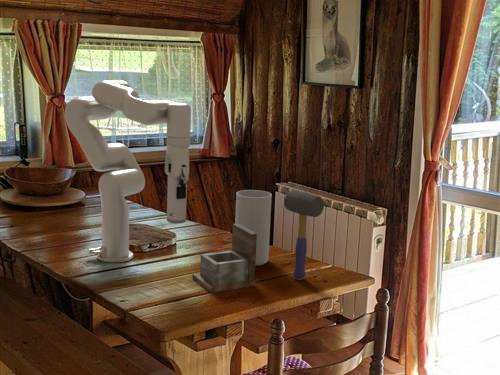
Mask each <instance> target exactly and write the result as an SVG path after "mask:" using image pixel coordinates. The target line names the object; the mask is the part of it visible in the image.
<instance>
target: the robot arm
mask: <svg viewBox="0 0 500 375" xmlns="http://www.w3.org/2000/svg"><path fill="white" fill-rule="evenodd" d="M91 95H92V96H80V97H75V98H72V99H70V100H69V101H68V102H67V103H66V104H65V105H66V106H65V109H64V110H65V111H64V119H65V123H66V125H67V127H68V129H69V131H70V132H71V133H72V135H73V136H74V138H75V139H76V141H77V142H78V144H79V145H80V148H81V149H82V151H83V153H84V155H85V157H86V159H87V160H88V162H89V164H90V165H91V167H92V168H93V169H94V170H95V171H96V172H105V173H103V174H101V176H100V177H99V180H98V191H99V195H100V203H101V244H98V245H99V246H97V247H95V248H93V247H92V248H88V249H87V252H88V255H92V254H93V256H97V259H98V260H99V261H102V262H105V263H124V262H128V261H131V260H132V259H133V258H134V253H133V252H132V251H131V250H130V208H129V204H128V202H127V200H126V198H125V197H127V196H131V195H135V194H138V193H141V192H142V191H143V190H144V188H145V186H146V178H145V175H144V172H143V171H142V169H141V167H140V165H139V163H138V162H137V160H136V158H135V156H134V155H133V153H132V151H131V150H130V148H129V147H128V146H126V145H125V144H123V143H120V142H112V143H111V142H110V143H108V142H107V140H106V139H105V138H104V136H103V134H102V132H101V131H100V129H98V128H97V127H96V126H95V125H94V124H92V123H91V121H98V120H100V121H101V120H102V121H103V120H107V119H109V118H111V117H113V116H114V115H115V114H116V113H118V112H122V113H123V116H125V118H127V119H129V120H130V121H133V122H136V123H139V124H142V125H147V126H152V125H161V124H163V125H164V124H166V149H165V159H164V173H165V174H166V175H167V176H168V163H169V164H171V177H173V178H177V184H178V187H176V198H177V199H185V198H186V187H187V188H188V181H189V180H190V178H189V174H190V150H189V148H190V147H191V129H192V128H191V126H192V124H191V123H192V106H191V105H190V104H188V103H185V102H175V101H171V100H169V99H168V100H167V99H166V100H165V99H163V100H161V99H159V100H143V99H140V98H139V97H140V96H139V92H137V91H136V89H134V88H132V87H131V85H130V84H129V83H128V82H127V81H125V80H122V79H118V80H117V79H114V80H113V79H112V80H108V79H107V80H100V81H98V82H96V83H95V84H94V85H93V86H92V90H91ZM180 175H183V177H179V176H180ZM180 179H183V180H181V182H180Z"/></svg>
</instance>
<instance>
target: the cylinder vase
mask: <svg viewBox="0 0 500 375" xmlns="http://www.w3.org/2000/svg"><path fill="white" fill-rule="evenodd" d="M235 193H236V197H235V198H236V200H235V219H234V220H235V222H234V224H240V225H242V226H244V227H246V228H247V229H249V230H251V231H253V232H255V233H257V242H256V263H255V267H256V266H262V265H265V264H266V263H268V261H269V257H270V256H269V254H270V252H269V251H270V235H271V234H270V232H271V231H270V230H271V213H272V198H273V197H272V193H271V192H269V191H265V190H256V189H244V190H239V191H237V192H235Z"/></svg>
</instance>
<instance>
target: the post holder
mask: <svg viewBox="0 0 500 375" xmlns="http://www.w3.org/2000/svg"><path fill="white" fill-rule="evenodd" d="M231 236H232V238H231V250H225V251H219V252H218V251H217V252H211V253H203V254H202V253H201V254H200V263H199V264H200V267H199V268H200V270H199V271H200V272H198V273H192V280H194V281H195V282H197V283H198V284H199V285H200V286H201V287H203V288H204V289H205V288H206V289H205V290H206V291H208V292H210V294H211V293H217V292H224V291H230V290H237V289H242V288H243V287H244V288H249V287H250V286H251V287H256V266H255V263H256V242H257V233H255V232H253V231H251V230H249V229H247V228H246V227H244V226H242V225H240V224H235V223H232V235H231ZM244 288H243V289H244Z"/></svg>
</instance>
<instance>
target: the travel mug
mask: <svg viewBox="0 0 500 375" xmlns="http://www.w3.org/2000/svg"><path fill="white" fill-rule="evenodd" d="M179 177H183V175H180V176H179ZM181 180H183V179H180V182H181ZM176 187H178V184H177V178H173V177H171V164H169V163H168V175H167V194H166V196H167V197H166V198H167V200H166V221H167V222H168V223H170V224H183V223H186V222H187V199H188V198H187V197H188V196H187V194H188V186H187V187H186V198H185V199H177V198H176Z"/></svg>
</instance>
